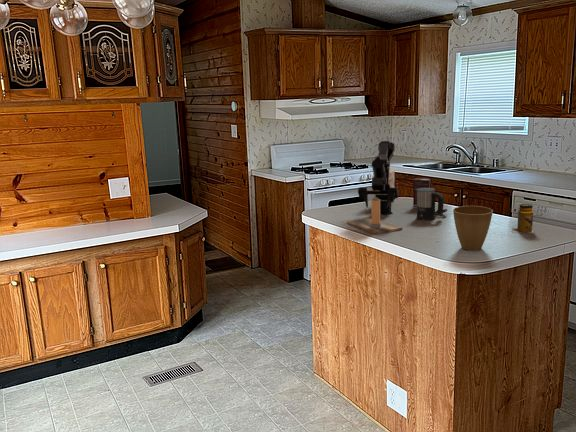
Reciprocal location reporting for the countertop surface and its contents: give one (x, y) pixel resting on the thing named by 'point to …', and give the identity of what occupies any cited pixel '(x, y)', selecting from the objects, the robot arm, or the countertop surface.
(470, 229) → the plant pot
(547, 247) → the countertop surface
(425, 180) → the supplement box
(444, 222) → the countertop surface
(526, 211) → the condiment
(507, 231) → the countertop surface
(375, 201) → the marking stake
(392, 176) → the coffeecake box
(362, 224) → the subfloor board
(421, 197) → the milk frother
